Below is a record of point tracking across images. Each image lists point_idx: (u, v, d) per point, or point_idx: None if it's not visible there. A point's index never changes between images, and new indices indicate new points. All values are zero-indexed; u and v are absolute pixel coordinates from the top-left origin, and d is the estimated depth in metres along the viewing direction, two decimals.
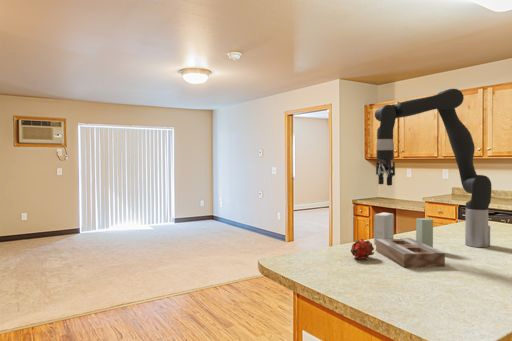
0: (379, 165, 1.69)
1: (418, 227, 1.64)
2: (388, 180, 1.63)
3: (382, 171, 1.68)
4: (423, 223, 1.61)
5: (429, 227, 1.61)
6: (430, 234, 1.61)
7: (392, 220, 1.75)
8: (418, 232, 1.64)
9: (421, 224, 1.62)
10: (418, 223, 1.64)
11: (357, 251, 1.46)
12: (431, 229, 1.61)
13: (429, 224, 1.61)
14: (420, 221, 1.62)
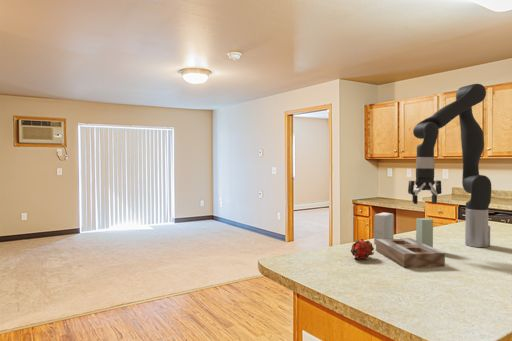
0: (423, 184, 1.61)
1: (418, 227, 1.64)
2: (436, 198, 1.63)
3: None
4: (422, 223, 1.61)
5: (429, 227, 1.61)
6: (430, 234, 1.61)
7: (392, 220, 1.75)
8: (418, 232, 1.64)
9: (421, 224, 1.62)
10: (418, 223, 1.64)
11: (357, 251, 1.46)
12: (431, 229, 1.61)
13: (429, 224, 1.61)
14: (420, 221, 1.62)
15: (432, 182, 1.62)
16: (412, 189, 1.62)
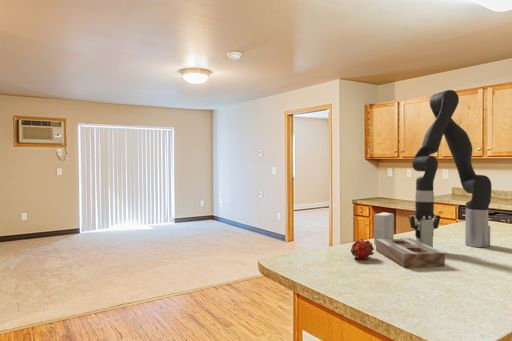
0: (423, 217, 1.61)
1: None
2: None
3: None
4: (423, 222, 1.61)
5: (429, 227, 1.61)
6: (430, 234, 1.61)
7: (392, 220, 1.75)
8: None
9: (421, 224, 1.62)
10: None
11: (357, 251, 1.46)
12: (431, 229, 1.61)
13: (429, 224, 1.61)
14: None
15: (432, 215, 1.63)
16: (414, 224, 1.62)
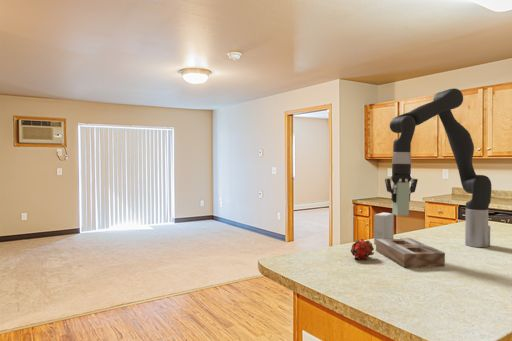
0: (399, 180, 1.55)
1: None
2: (409, 197, 1.57)
3: None
4: (399, 185, 1.55)
5: (405, 190, 1.55)
6: (406, 197, 1.55)
7: (392, 220, 1.75)
8: None
9: (397, 186, 1.55)
10: None
11: (357, 251, 1.46)
12: (407, 192, 1.55)
13: (405, 187, 1.55)
14: None
15: (408, 178, 1.56)
16: (390, 187, 1.56)
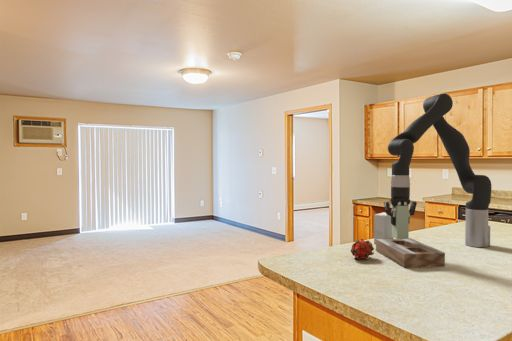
0: (398, 203, 1.55)
1: None
2: None
3: None
4: (398, 209, 1.54)
5: (404, 213, 1.54)
6: (406, 221, 1.55)
7: None
8: None
9: (396, 210, 1.55)
10: None
11: (357, 251, 1.46)
12: (407, 215, 1.55)
13: (404, 210, 1.54)
14: None
15: (408, 201, 1.56)
16: (389, 210, 1.55)
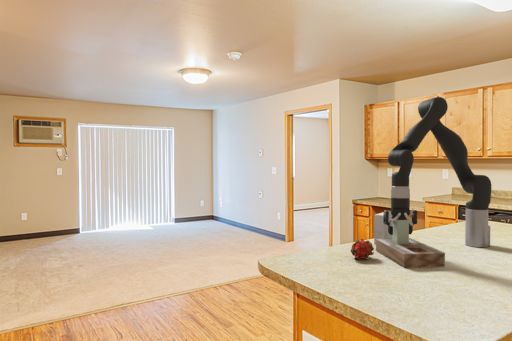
0: (398, 214, 1.55)
1: (394, 228, 1.57)
2: (411, 229, 1.57)
3: None
4: (398, 223, 1.54)
5: (405, 227, 1.55)
6: (406, 235, 1.55)
7: None
8: (394, 233, 1.57)
9: (396, 224, 1.55)
10: (394, 223, 1.57)
11: (357, 251, 1.46)
12: (407, 230, 1.55)
13: (404, 224, 1.55)
14: None
15: (408, 212, 1.56)
16: (387, 220, 1.55)
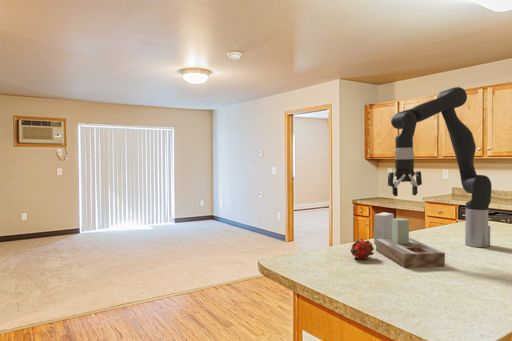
0: (403, 175, 1.57)
1: (394, 228, 1.57)
2: (416, 190, 1.59)
3: (404, 181, 1.58)
4: (398, 223, 1.54)
5: (405, 227, 1.55)
6: (406, 235, 1.55)
7: None
8: (394, 233, 1.57)
9: (396, 224, 1.55)
10: (394, 223, 1.57)
11: (357, 251, 1.46)
12: (407, 230, 1.55)
13: (404, 224, 1.55)
14: (395, 221, 1.56)
15: (412, 173, 1.58)
16: (392, 181, 1.57)
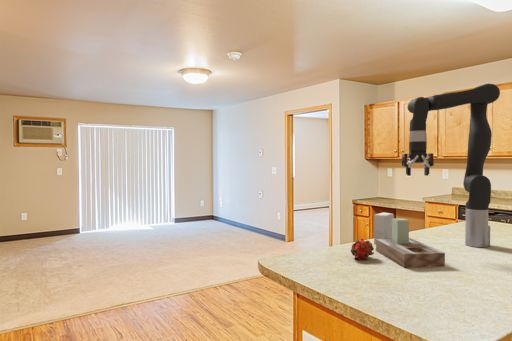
0: (416, 156, 1.69)
1: (394, 228, 1.57)
2: (428, 170, 1.71)
3: (417, 162, 1.70)
4: (398, 223, 1.54)
5: (405, 227, 1.55)
6: (406, 235, 1.55)
7: None
8: (394, 233, 1.57)
9: (396, 224, 1.55)
10: (394, 223, 1.57)
11: (357, 251, 1.46)
12: (407, 230, 1.55)
13: (404, 224, 1.55)
14: (395, 221, 1.56)
15: (424, 155, 1.70)
16: (405, 161, 1.69)
